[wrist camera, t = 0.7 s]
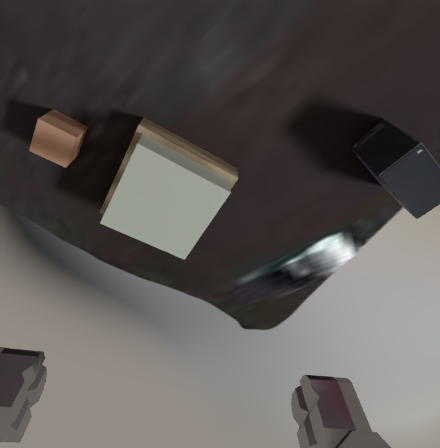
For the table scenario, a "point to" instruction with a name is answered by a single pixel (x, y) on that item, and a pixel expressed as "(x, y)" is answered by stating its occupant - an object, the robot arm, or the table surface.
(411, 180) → the small box
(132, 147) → the birch slab
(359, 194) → the table surface
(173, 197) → the sage block
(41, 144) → the terracotta cube
